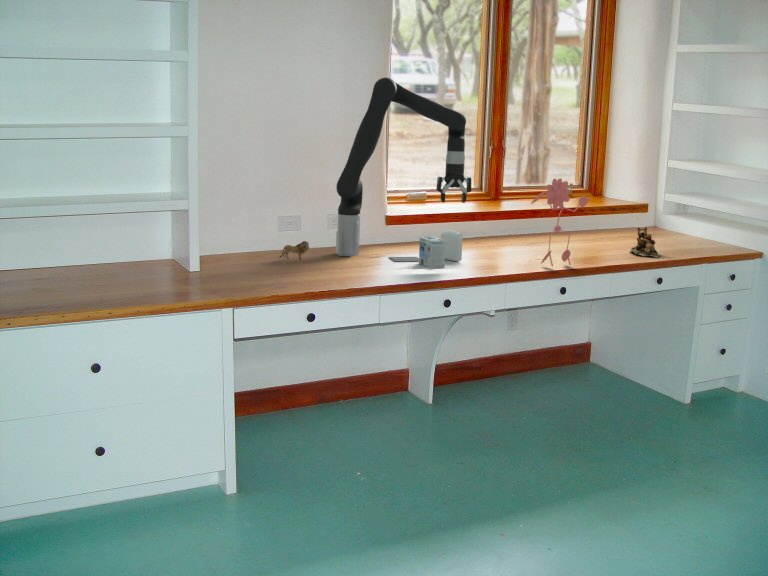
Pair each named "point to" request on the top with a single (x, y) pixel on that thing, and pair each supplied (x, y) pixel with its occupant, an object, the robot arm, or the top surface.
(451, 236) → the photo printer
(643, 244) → the bear figurine
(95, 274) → the top surface
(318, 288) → the top surface
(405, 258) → the slate pad
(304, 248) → the lion figurine
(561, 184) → the figurine
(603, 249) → the top surface
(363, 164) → the robot arm
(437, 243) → the light bulb box
